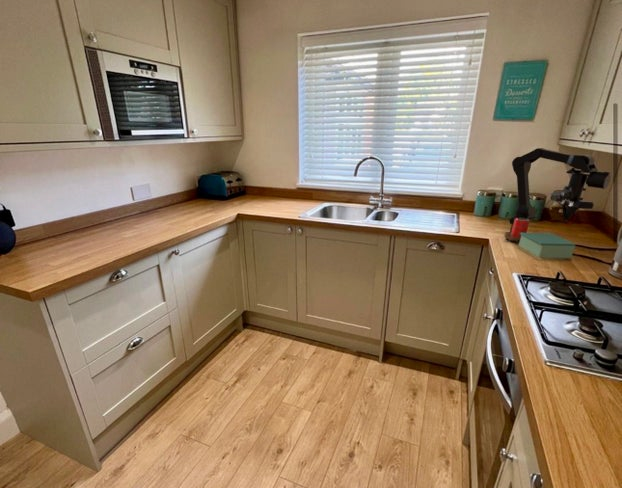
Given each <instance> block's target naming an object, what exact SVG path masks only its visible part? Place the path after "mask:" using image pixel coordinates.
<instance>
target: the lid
mask: <svg viewBox="0 0 622 488" xmlns="http://www.w3.org/2000/svg"><path fill="white" fill-rule="evenodd" d="M520 234H521V235H522V236H524V237H526V238H528V239H530V240H532V241H534V242H536V243H538V244H539V245H554V246H575V247H576V243H574V242H572V241H570V240H568V239H566V238H563V237H562V236H558V235H557V234H555V233H552V232H526V233H520Z"/></svg>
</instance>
